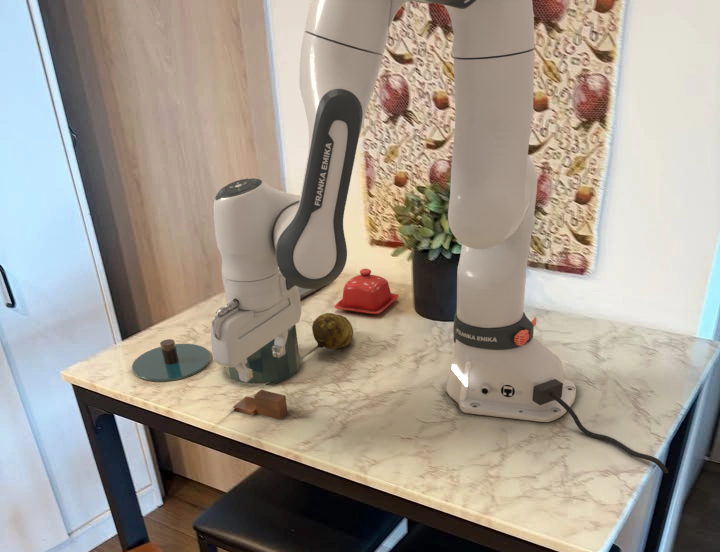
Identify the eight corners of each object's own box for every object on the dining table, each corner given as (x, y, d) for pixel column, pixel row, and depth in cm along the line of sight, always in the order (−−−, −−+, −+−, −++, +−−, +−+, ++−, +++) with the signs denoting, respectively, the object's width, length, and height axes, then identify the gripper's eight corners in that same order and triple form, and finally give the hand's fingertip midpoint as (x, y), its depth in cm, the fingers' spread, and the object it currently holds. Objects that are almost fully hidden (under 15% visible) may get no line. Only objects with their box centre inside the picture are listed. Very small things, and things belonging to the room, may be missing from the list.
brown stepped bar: (290, 411, 133) (288, 393, 131) (277, 422, 130) (275, 403, 128) (247, 400, 137) (244, 382, 135) (233, 410, 134) (230, 392, 132)
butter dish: (356, 293, 174) (353, 257, 169) (401, 300, 170) (400, 263, 165) (332, 312, 166) (328, 275, 161) (379, 320, 161) (377, 282, 157)
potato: (369, 337, 155) (367, 300, 150) (336, 364, 146) (333, 325, 142) (335, 330, 159) (332, 294, 154) (301, 356, 150) (296, 318, 145)
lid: (227, 356, 152) (222, 333, 149) (176, 390, 141) (170, 366, 138) (169, 343, 159) (164, 320, 156) (116, 375, 148) (110, 351, 145)
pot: (314, 358, 149) (309, 315, 143) (271, 392, 139) (265, 347, 133) (255, 346, 155) (248, 304, 150) (210, 377, 145) (201, 334, 140)
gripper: (227, 317, 111) (240, 399, 119) (304, 270, 125) (311, 346, 133) (194, 310, 113) (209, 391, 122) (273, 264, 127) (281, 339, 136)
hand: (263, 367), depth 127 cm, fingers open, 8 cm apart
